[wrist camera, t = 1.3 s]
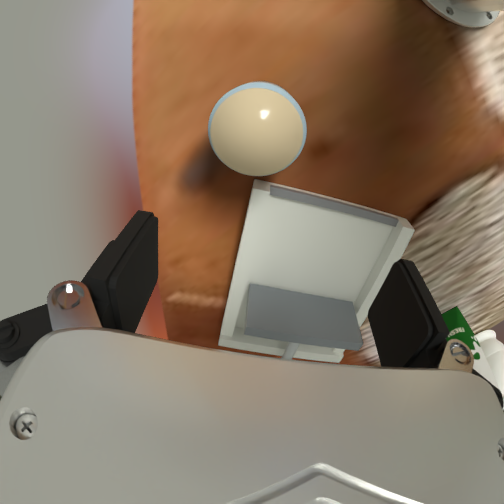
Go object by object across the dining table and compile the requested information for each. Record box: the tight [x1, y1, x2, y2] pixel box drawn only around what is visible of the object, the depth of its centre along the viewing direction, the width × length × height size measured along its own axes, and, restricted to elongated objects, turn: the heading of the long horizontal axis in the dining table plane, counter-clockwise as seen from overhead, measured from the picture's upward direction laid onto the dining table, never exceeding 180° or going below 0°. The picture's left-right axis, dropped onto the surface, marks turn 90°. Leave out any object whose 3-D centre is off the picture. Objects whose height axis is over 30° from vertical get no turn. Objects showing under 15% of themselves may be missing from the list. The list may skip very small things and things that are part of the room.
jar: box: [475, 330, 504, 400], centre depth 35 cm, size 11×10×15 cm
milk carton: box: [441, 306, 504, 410], centre depth 30 cm, size 9×9×20 cm
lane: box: [218, 179, 415, 363], centre depth 33 cm, size 21×16×3 cm
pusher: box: [244, 283, 363, 360], centre depth 34 cm, size 9×12×6 cm
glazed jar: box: [208, 81, 307, 176], centre depth 21 cm, size 6×6×8 cm
